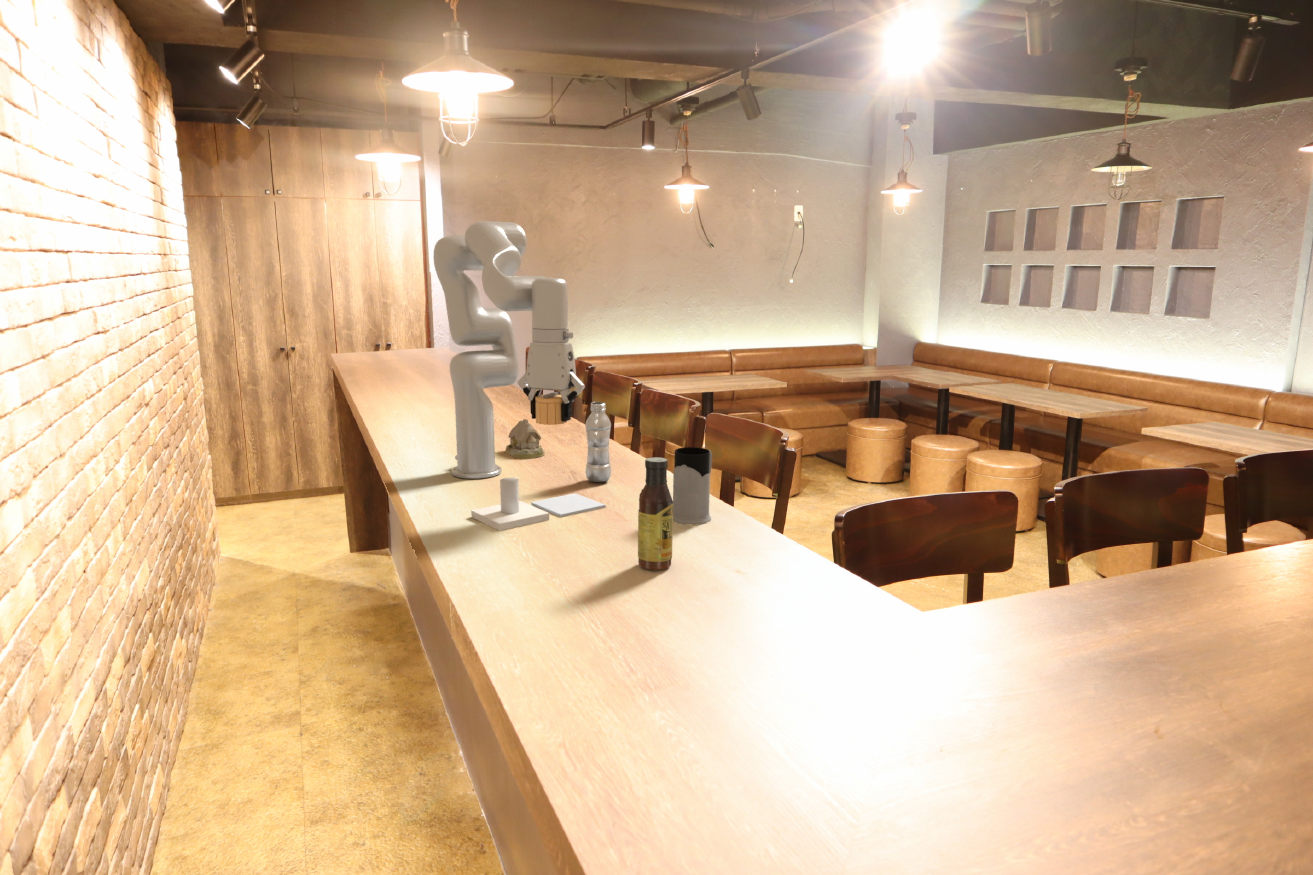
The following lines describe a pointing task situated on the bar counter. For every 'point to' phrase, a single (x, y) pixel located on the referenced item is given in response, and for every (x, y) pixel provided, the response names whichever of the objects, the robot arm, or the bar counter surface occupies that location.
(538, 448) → the ceramic model
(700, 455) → the glass holder
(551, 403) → the knob
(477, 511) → the post block
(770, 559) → the bar counter surface
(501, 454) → the bar counter surface
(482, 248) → the robot arm
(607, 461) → the plastic bottle
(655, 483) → the sauce bottle
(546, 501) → the mat
